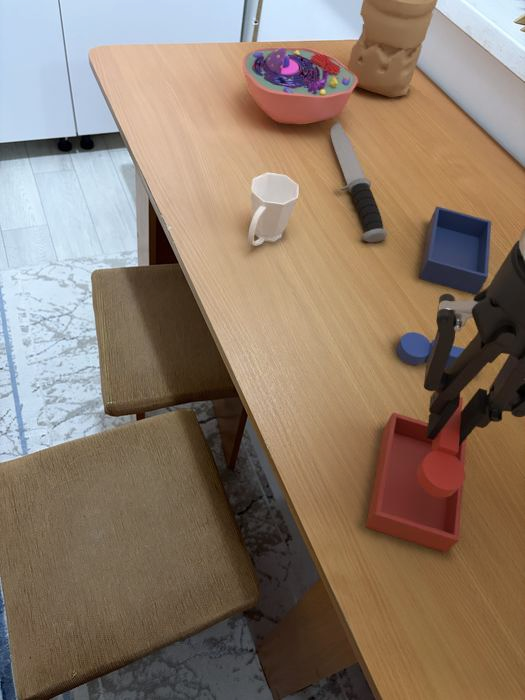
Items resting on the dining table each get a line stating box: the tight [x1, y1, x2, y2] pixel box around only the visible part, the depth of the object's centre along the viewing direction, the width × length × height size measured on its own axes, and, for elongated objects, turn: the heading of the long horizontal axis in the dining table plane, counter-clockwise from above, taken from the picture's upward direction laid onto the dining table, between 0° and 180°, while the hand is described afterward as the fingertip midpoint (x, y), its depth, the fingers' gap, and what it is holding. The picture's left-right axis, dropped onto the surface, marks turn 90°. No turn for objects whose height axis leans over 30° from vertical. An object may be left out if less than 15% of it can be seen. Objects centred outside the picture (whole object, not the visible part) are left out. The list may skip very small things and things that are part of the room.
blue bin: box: [418, 206, 492, 295], centre depth 86 cm, size 12×8×4 cm
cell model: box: [242, 46, 358, 125], centre depth 102 cm, size 17×20×11 cm
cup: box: [247, 171, 300, 247], centre depth 83 cm, size 7×10×8 cm
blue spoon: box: [396, 331, 465, 369], centre depth 75 cm, size 10×4×3 cm, turn 74°
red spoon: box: [417, 396, 466, 498], centre depth 57 cm, size 10×4×3 cm, turn 164°
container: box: [347, 0, 438, 98], centre depth 108 cm, size 13×13×18 cm
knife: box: [330, 119, 388, 243], centre depth 95 cm, size 29×3×5 cm
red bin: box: [365, 412, 468, 553], centre depth 63 cm, size 12×8×4 cm
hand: (443, 431), depth 58 cm, fingers closed on red spoon, 2 cm apart
